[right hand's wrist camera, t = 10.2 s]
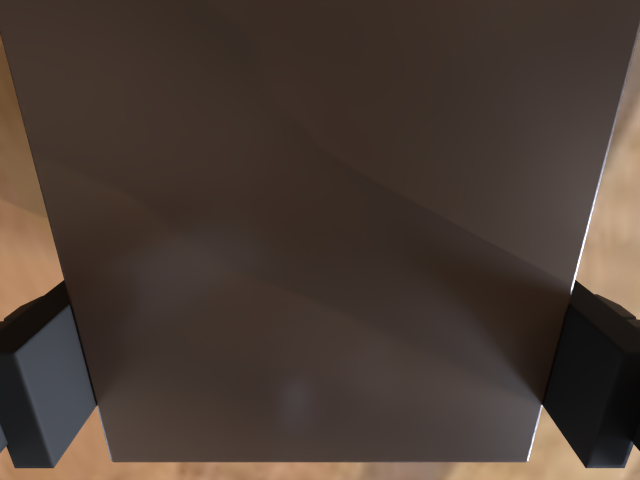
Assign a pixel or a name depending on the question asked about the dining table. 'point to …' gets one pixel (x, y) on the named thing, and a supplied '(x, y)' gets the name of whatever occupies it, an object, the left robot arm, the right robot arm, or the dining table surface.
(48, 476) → the dining table surface
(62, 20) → the cabinet
